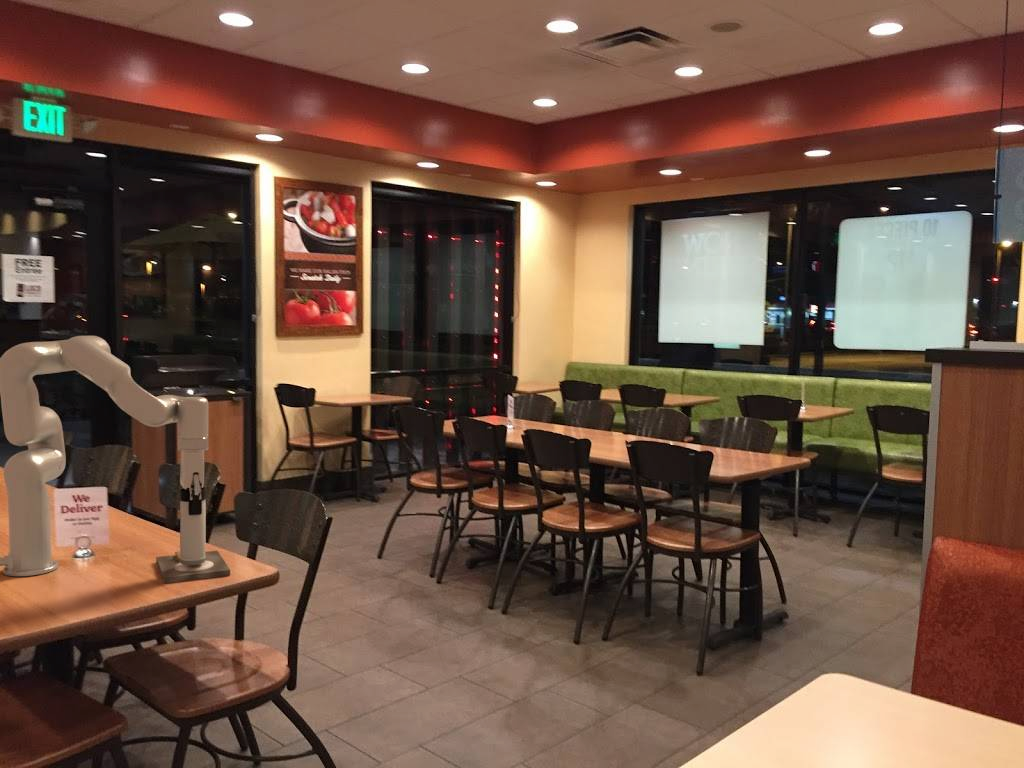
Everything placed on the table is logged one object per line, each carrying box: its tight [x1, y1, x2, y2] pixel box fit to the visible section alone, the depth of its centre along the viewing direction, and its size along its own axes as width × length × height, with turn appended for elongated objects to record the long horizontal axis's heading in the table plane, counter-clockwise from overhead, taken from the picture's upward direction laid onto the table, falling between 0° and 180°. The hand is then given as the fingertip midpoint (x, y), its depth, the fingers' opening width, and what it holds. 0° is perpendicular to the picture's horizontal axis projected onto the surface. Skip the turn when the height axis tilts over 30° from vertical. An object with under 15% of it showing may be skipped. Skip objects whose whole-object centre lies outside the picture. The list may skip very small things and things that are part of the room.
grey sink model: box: [155, 550, 231, 584], centre depth 225 cm, size 16×20×6 cm
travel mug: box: [179, 486, 207, 565], centre depth 221 cm, size 6×7×20 cm
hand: (193, 511), depth 221 cm, fingers closed on travel mug, 6 cm apart
